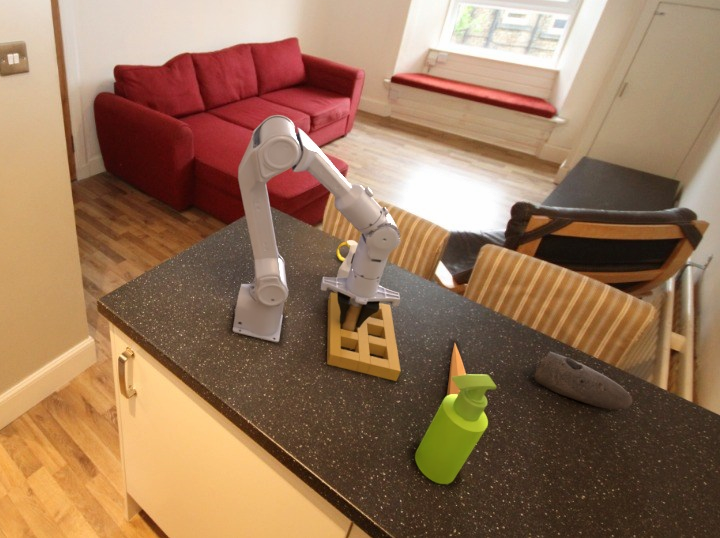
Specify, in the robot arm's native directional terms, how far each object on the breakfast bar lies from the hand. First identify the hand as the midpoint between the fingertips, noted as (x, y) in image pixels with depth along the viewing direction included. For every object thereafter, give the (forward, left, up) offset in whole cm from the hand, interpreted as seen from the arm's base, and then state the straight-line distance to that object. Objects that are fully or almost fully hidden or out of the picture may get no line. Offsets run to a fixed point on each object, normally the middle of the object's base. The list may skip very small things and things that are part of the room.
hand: (349, 322), depth 91 cm
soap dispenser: (+13, -24, -4) cm, 27 cm away
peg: (0, 0, -3) cm, 3 cm away
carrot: (+21, -5, -4) cm, 22 cm away
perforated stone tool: (+42, -2, -4) cm, 42 cm away
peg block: (+3, 0, -3) cm, 4 cm away
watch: (+1, +26, -4) cm, 26 cm away
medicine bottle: (+2, +15, -4) cm, 16 cm away
